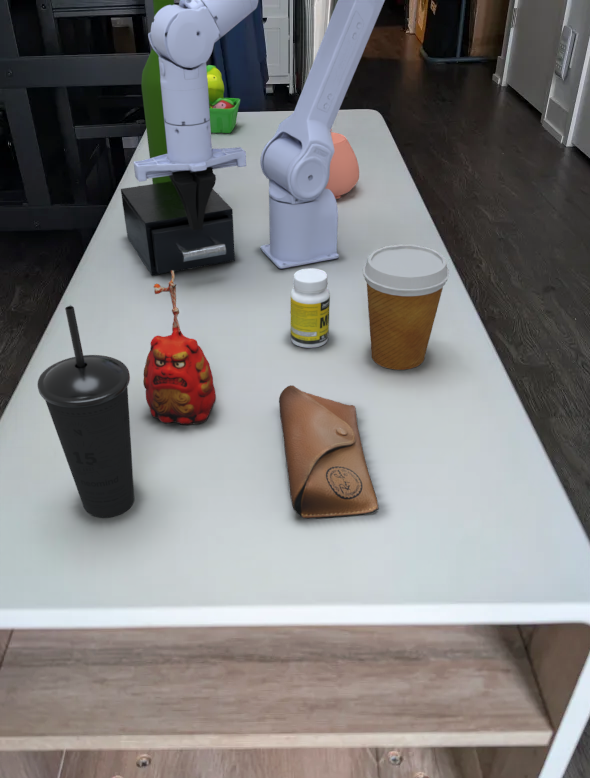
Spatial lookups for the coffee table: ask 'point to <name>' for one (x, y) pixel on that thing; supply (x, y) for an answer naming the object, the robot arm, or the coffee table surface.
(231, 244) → the drawer
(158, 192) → the black drawer box
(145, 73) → the wine bottle
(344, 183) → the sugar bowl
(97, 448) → the drinking cup
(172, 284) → the red clay folk toy
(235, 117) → the fruit basket
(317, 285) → the supplement bottle
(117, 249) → the coffee table surface
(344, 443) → the sunglasses case
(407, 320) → the disposable coffee cup
